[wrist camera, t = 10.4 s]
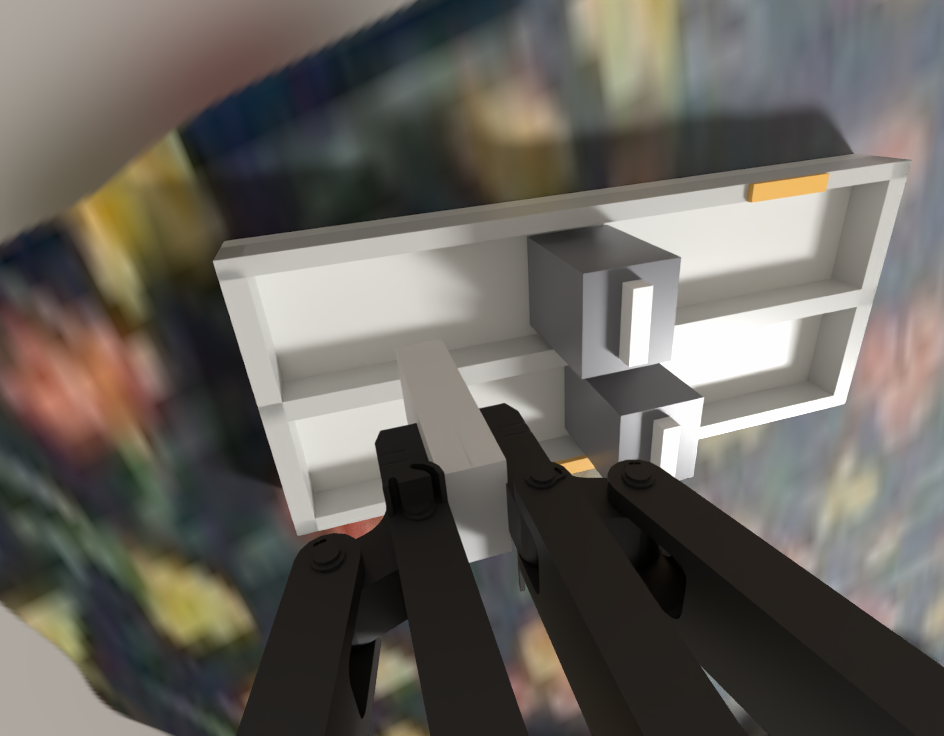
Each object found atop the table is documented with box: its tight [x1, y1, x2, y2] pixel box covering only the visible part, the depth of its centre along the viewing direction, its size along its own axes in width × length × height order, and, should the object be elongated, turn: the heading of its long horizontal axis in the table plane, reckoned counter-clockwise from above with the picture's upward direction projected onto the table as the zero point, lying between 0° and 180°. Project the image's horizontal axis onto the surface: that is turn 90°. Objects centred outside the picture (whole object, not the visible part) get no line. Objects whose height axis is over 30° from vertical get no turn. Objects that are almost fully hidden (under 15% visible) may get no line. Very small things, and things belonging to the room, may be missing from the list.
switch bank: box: [213, 154, 912, 536], centre depth 28 cm, size 14×32×4 cm, turn 94°
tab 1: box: [527, 225, 681, 379], centre depth 24 cm, size 4×4×7 cm
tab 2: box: [565, 363, 704, 480], centre depth 27 cm, size 4×4×7 cm
